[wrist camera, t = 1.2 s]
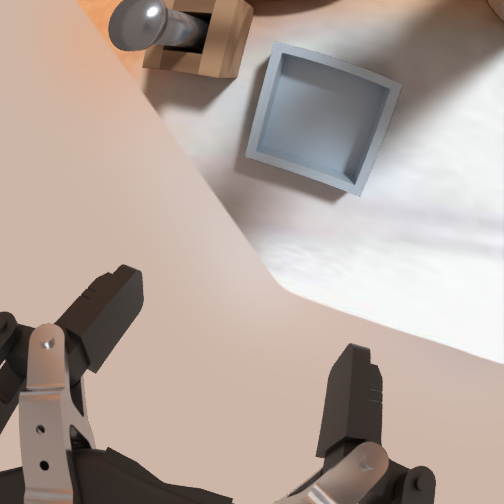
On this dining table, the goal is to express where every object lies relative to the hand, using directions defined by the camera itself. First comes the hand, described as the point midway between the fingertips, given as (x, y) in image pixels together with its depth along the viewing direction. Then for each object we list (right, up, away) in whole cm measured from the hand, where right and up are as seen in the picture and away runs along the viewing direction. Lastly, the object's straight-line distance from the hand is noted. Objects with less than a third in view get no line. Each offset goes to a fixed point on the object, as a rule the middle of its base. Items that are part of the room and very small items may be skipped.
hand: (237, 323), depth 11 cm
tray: (+8, +18, +19) cm, 28 cm away
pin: (-4, +27, +17) cm, 33 cm away
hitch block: (-4, +27, +17) cm, 33 cm away
